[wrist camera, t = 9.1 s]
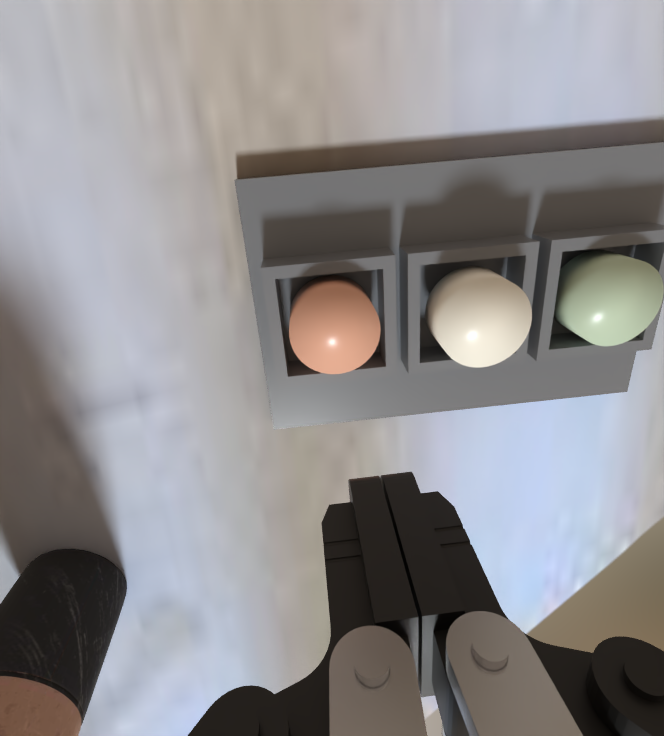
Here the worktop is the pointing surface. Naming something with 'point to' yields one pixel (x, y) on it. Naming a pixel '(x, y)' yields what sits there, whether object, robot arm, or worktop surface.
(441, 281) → the cream button
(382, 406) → the button panel
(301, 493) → the worktop surface
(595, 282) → the sage button
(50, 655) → the travel mug
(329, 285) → the terracotta button
